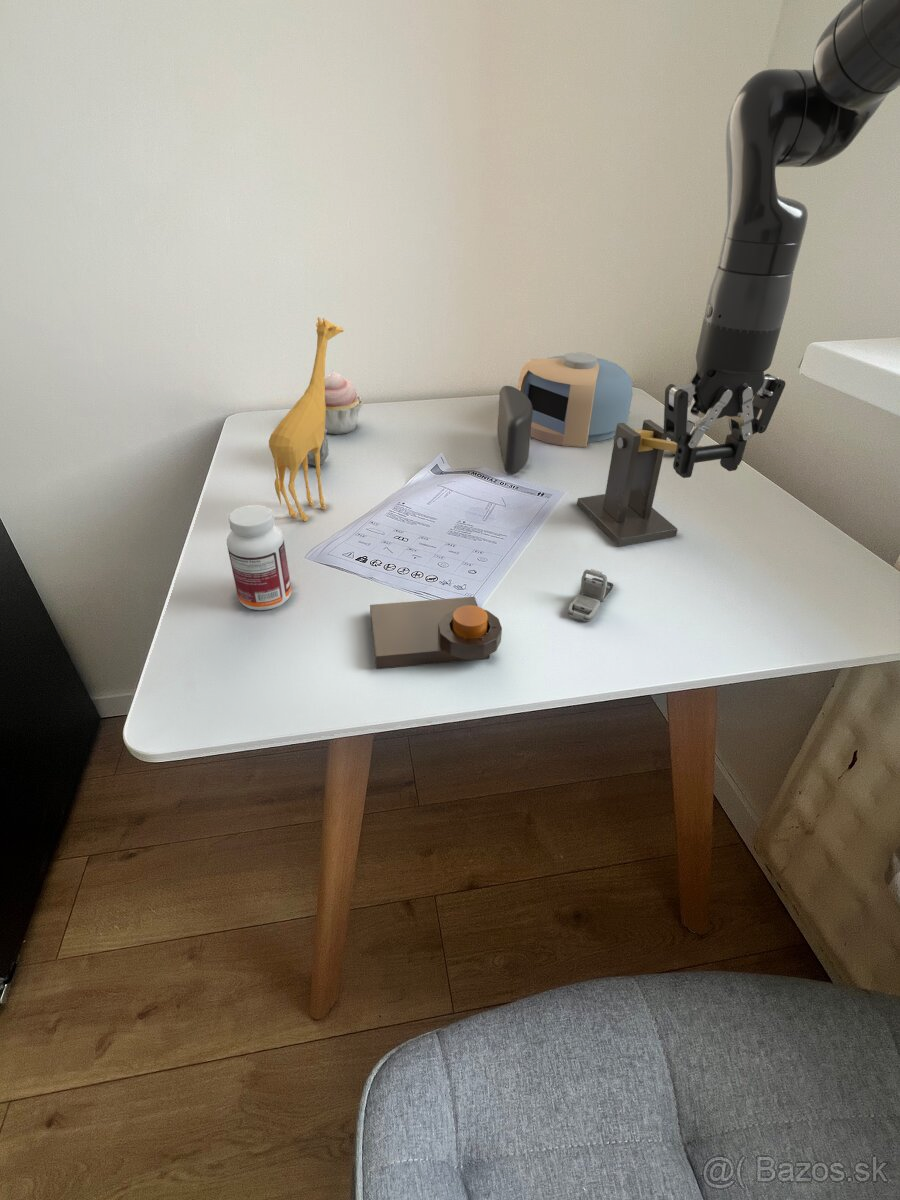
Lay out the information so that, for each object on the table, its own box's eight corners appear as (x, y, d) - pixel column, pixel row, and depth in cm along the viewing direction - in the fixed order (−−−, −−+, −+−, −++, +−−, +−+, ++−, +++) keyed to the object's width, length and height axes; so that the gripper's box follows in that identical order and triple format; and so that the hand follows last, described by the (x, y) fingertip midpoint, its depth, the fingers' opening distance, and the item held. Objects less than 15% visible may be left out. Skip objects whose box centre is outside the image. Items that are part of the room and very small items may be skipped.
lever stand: (676, 536, 95) (699, 441, 87) (618, 546, 93) (636, 450, 85) (630, 496, 104) (647, 407, 96) (576, 505, 102) (589, 414, 94)
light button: (483, 616, 75) (484, 603, 74) (490, 638, 72) (491, 624, 71) (450, 619, 74) (450, 606, 73) (455, 641, 71) (456, 627, 70)
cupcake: (351, 414, 128) (348, 359, 122) (373, 432, 122) (370, 375, 116) (303, 423, 125) (297, 367, 119) (322, 442, 118) (317, 383, 112)
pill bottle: (261, 576, 85) (248, 496, 79) (302, 590, 83) (292, 509, 77) (226, 602, 81) (209, 520, 74) (269, 618, 79) (254, 534, 72)
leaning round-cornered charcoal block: (533, 478, 109) (539, 420, 103) (504, 477, 108) (508, 419, 103) (522, 436, 122) (526, 382, 116) (495, 436, 122) (499, 382, 116)
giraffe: (339, 480, 107) (325, 308, 92) (363, 486, 105) (353, 312, 90) (269, 526, 95) (240, 338, 80) (294, 535, 93) (270, 344, 79)
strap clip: (589, 624, 79) (595, 594, 77) (564, 616, 80) (569, 585, 78) (614, 587, 85) (620, 558, 83) (591, 580, 86) (596, 551, 84)
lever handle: (734, 461, 79) (735, 440, 78) (693, 467, 78) (694, 446, 77) (651, 446, 94) (652, 427, 93) (615, 451, 92) (615, 432, 91)
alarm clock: (495, 421, 127) (499, 354, 120) (566, 397, 138) (574, 334, 131) (577, 456, 116) (587, 383, 108) (647, 426, 127) (660, 358, 119)
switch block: (484, 607, 81) (486, 582, 79) (504, 668, 73) (507, 642, 71) (370, 616, 79) (369, 591, 77) (377, 680, 71) (376, 654, 69)
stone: (350, 466, 111) (345, 405, 105) (314, 479, 107) (308, 416, 101) (315, 447, 116) (310, 388, 110) (281, 459, 112) (273, 398, 106)
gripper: (705, 332, 66) (670, 494, 75) (827, 321, 69) (778, 477, 79) (661, 313, 71) (633, 466, 81) (775, 304, 75) (736, 451, 85)
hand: (705, 471), depth 80 cm, fingers closed on lever handle, 5 cm apart
